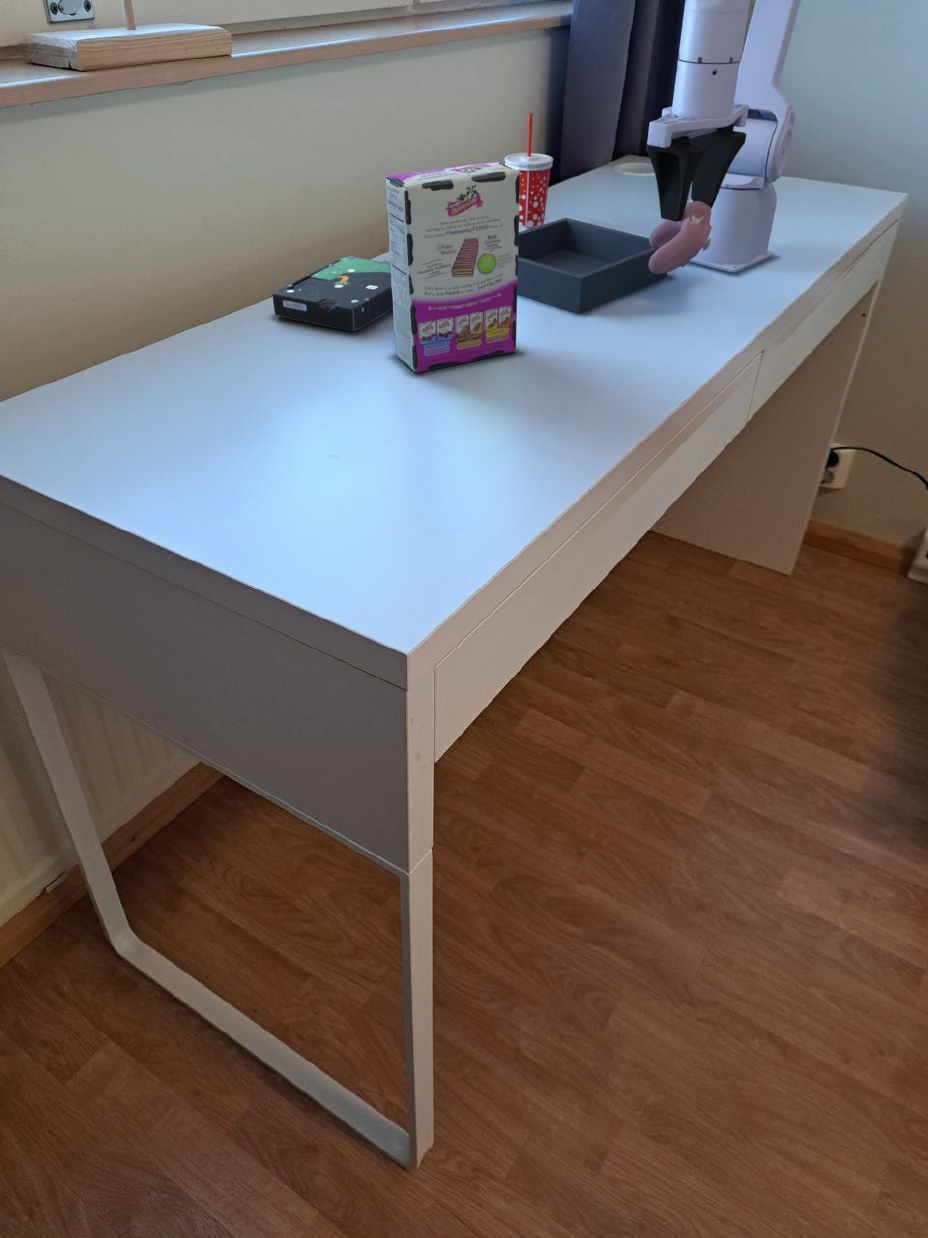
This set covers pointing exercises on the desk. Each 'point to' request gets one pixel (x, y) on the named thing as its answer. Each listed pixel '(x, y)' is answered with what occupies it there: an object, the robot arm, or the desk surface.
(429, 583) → the desk surface
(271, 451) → the desk surface
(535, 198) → the beverage cup
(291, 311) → the disk drive
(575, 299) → the bin
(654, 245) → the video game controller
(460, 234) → the candy bar box
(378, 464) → the desk surface
